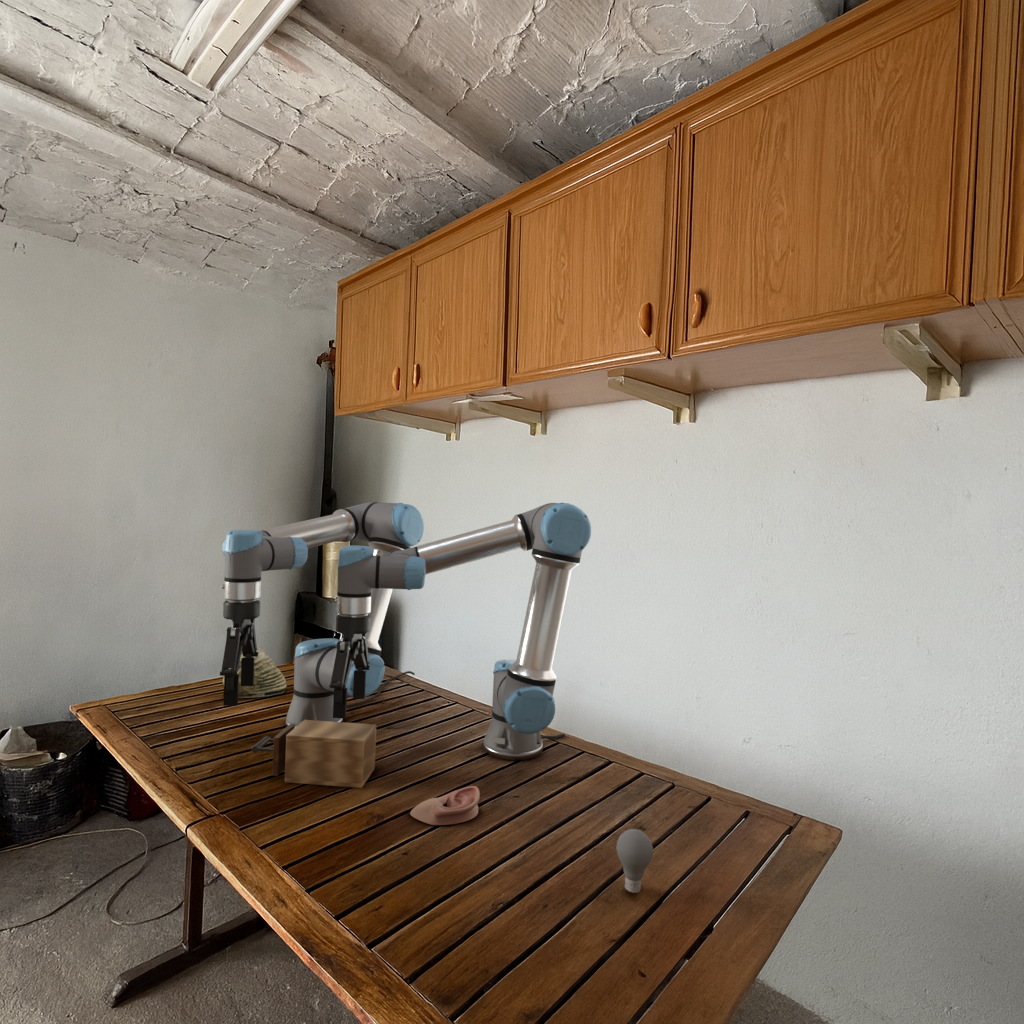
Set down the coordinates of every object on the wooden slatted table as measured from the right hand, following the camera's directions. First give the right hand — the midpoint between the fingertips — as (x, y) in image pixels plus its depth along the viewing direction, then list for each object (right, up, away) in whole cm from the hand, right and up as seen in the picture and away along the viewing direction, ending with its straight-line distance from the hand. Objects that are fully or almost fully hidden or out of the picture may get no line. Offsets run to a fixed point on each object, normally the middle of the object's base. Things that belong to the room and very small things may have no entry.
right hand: (349, 707), depth 143 cm
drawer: (-11, -14, +1) cm, 18 cm away
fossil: (-44, -13, +55) cm, 71 cm away
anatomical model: (+23, -17, -14) cm, 32 cm away
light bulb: (+57, -19, -38) cm, 71 cm away
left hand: (-24, +4, -3) cm, 24 cm away
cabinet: (-4, -16, +1) cm, 16 cm away
